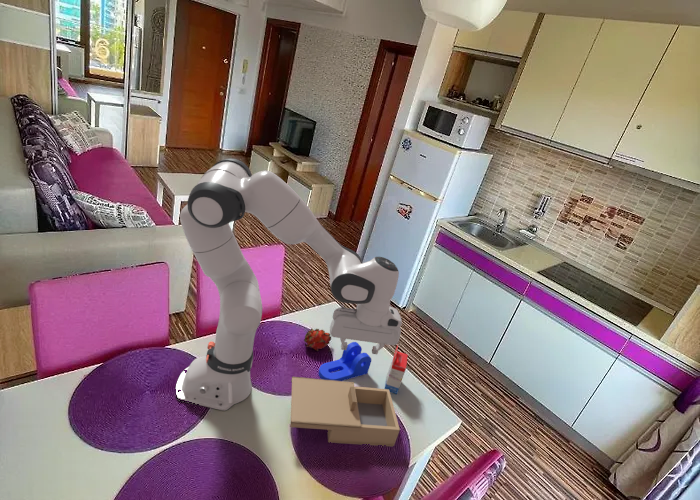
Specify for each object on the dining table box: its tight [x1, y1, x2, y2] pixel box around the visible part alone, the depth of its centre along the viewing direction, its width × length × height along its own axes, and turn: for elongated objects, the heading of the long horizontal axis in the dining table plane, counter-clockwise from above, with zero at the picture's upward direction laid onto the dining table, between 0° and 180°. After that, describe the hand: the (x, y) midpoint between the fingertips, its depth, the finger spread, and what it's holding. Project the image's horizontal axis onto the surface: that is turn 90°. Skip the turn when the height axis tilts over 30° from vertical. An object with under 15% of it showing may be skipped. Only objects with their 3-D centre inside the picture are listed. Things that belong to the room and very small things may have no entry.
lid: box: [289, 376, 361, 432], centre depth 120 cm, size 20×18×5 cm
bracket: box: [318, 341, 372, 381], centre depth 143 cm, size 18×8×9 cm, turn 124°
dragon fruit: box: [303, 328, 332, 352], centre depth 153 cm, size 8×8×12 cm
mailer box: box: [327, 385, 400, 447], centre depth 124 cm, size 20×16×7 cm
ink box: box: [384, 344, 409, 395], centre depth 142 cm, size 8×5×15 cm, turn 168°
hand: (359, 350), depth 118 cm, fingers open, 8 cm apart
